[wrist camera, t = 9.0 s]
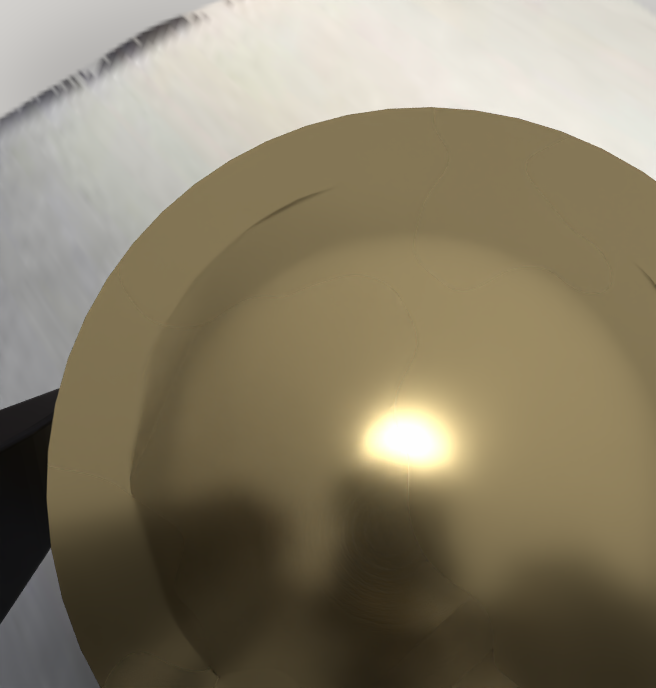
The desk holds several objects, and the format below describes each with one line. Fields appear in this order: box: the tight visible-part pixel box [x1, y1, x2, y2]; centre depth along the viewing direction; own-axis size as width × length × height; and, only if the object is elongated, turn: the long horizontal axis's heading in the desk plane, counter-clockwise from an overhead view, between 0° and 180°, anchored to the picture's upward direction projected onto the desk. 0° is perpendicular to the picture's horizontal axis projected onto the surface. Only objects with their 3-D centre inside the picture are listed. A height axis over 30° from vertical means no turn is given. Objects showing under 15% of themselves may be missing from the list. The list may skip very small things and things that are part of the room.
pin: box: [47, 107, 656, 688], centre depth 10 cm, size 5×5×13 cm
